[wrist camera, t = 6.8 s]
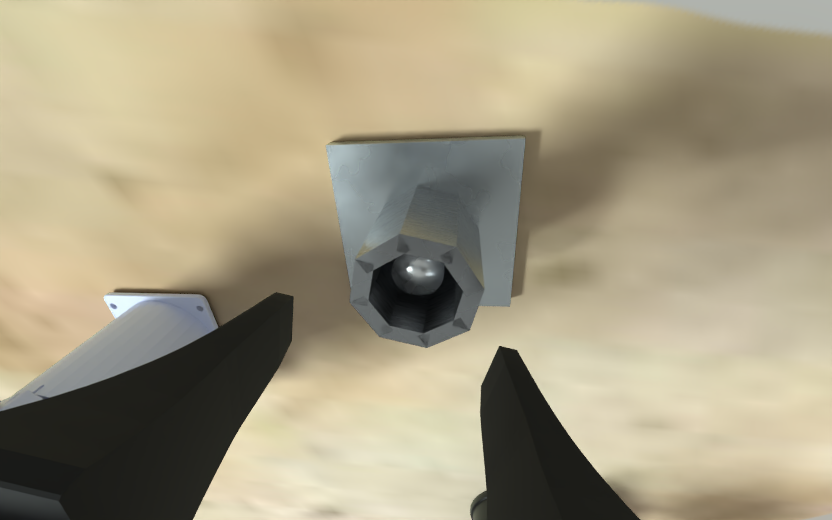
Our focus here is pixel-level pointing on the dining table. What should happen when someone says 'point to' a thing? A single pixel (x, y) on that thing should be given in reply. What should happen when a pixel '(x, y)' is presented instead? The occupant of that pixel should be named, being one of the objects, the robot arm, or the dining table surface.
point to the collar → (428, 238)
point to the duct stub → (440, 170)
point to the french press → (479, 507)
